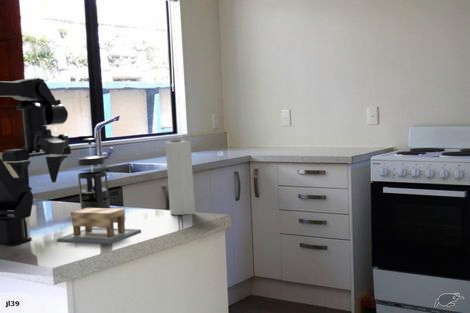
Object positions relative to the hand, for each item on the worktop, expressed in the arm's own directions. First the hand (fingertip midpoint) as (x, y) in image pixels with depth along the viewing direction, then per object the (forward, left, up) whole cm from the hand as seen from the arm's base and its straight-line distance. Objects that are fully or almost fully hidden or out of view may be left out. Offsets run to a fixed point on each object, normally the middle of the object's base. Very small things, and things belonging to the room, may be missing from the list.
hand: (40, 184), depth 157 cm
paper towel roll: (+28, -26, -13) cm, 40 cm away
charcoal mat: (-2, -20, -13) cm, 23 cm away
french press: (+30, +7, -13) cm, 34 cm away
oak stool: (-2, -20, -12) cm, 23 cm away
